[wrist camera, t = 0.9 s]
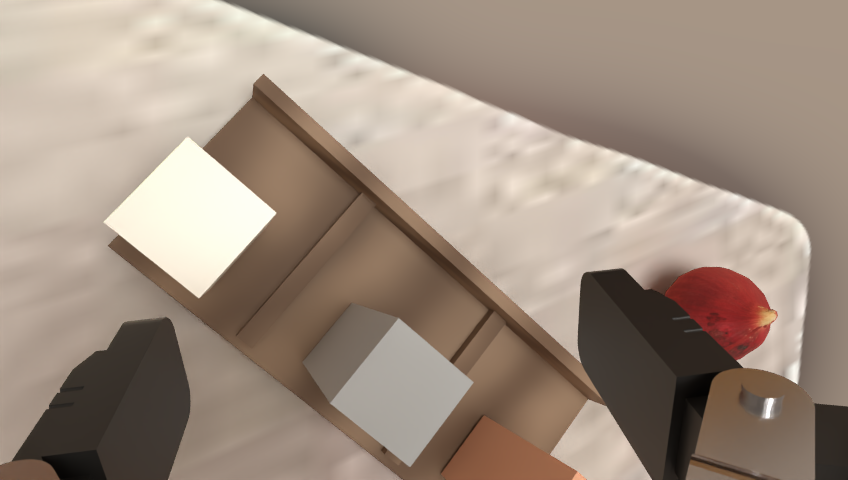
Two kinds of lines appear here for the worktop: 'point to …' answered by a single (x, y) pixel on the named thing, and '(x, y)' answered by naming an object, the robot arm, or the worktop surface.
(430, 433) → the grey rectangular block
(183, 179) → the cream rectangular block
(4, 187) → the worktop surface
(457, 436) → the wooden divided tray
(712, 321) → the onion
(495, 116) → the worktop surface
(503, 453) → the orange block
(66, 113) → the worktop surface
